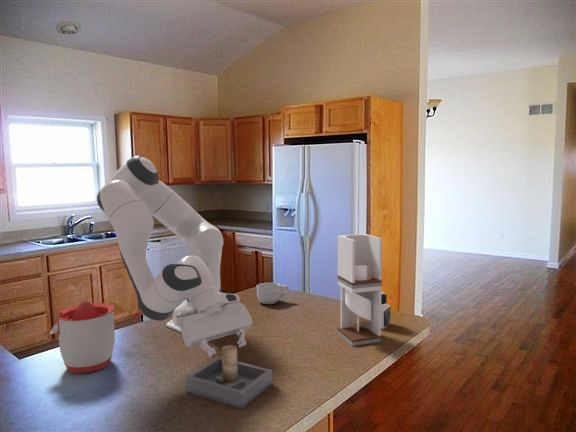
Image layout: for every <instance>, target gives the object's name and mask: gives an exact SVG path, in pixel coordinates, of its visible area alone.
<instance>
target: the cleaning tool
mask: <svg viewBox="0 0 576 432" xmlns="http://www.w3.org/2000/svg"><path fill="white" fill-rule="evenodd" d="M221 357H222V374H223V375H220V376H217V377H215V381H216V383H218V384H221V385H225V386H228V387H231V388H235V389H239V388H242V387H245V386H246V385H245V380H244V379H242V378H240V377H239V376H238V367H237V361H238V347H237V346H236V345H232V344H231V345H230V344H228V345H227V344H226V345H224V346H222V347H221Z"/></svg>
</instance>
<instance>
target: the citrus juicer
mask: <svg viewBox="0 0 576 432" xmlns="http://www.w3.org/2000/svg"><path fill="white" fill-rule="evenodd" d="M114 310H115V307H114V305H112V304H110V303H104V302H91V303H90V301H87V300H84V301H82V303H80V304H77V305H72V306H69V307H66V308H64V309H61V310H60V311H59V312H58V313H59V314H58V316H59V317H57V323H56V324H54V325H53V326H52V329H51V331H50V333H49V334H50V335H53V334H57V335H58V344H59V345H58V346H59V350H60V356H61V359H62V360H63V364H64V365H65V366H64V367H66V369H67V370H68V372H70V373H73V374H88V373H92V372H96V371H99V370H102V369H104V368H105V367H107V366H108V365H109V364H110V362H111V360H112V357H113V352H114V348H115V339H116V335H115V318H114Z"/></svg>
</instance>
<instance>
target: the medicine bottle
mask: <svg viewBox="0 0 576 432" xmlns="http://www.w3.org/2000/svg"><path fill="white" fill-rule="evenodd" d="M387 297H388V296H387V294H386V293H385V292H382V291H381V330H385V329H386V328H387V327H388V326H389V325H390V324H391V304H387V303H388V300H387V299H388V298H387Z"/></svg>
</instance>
